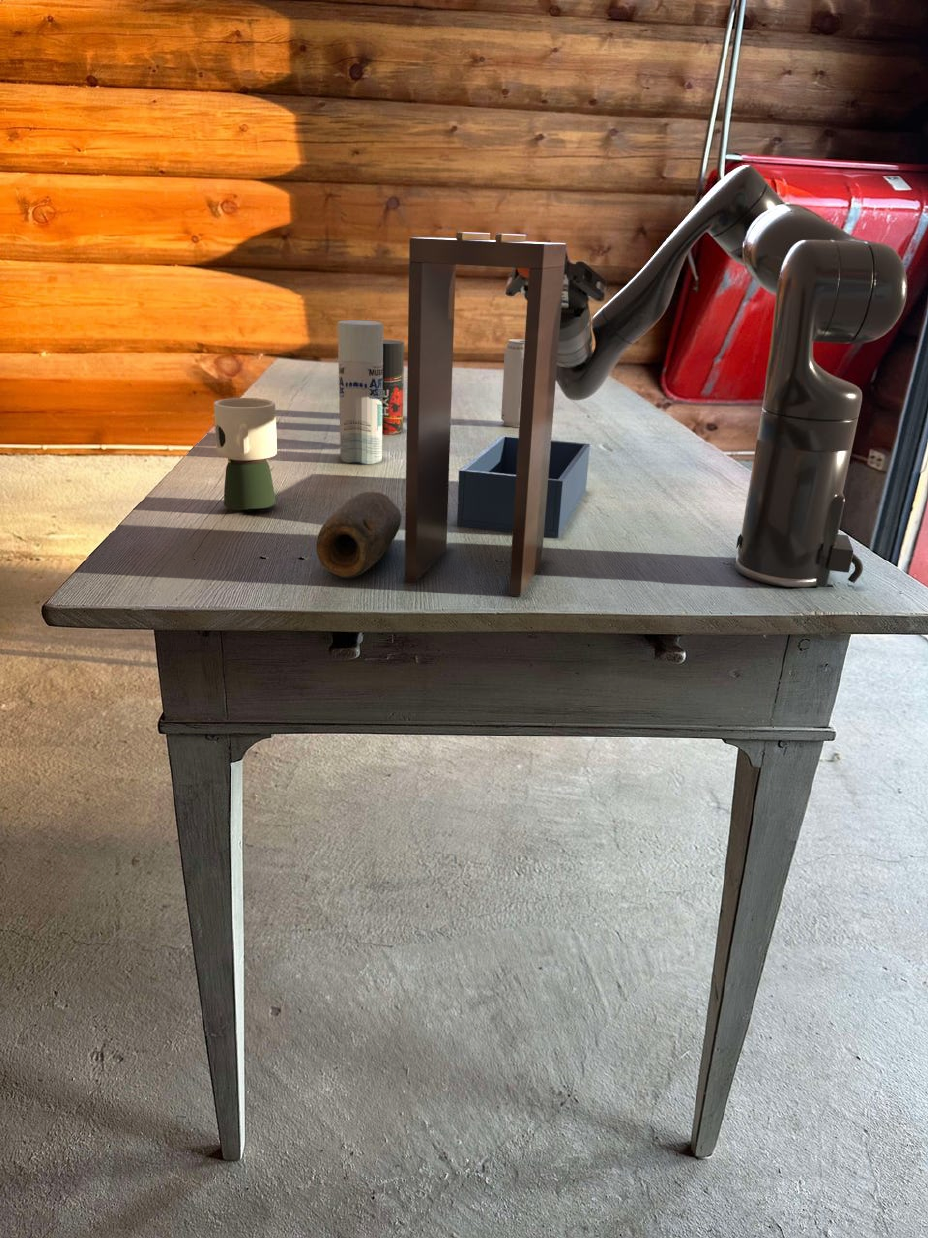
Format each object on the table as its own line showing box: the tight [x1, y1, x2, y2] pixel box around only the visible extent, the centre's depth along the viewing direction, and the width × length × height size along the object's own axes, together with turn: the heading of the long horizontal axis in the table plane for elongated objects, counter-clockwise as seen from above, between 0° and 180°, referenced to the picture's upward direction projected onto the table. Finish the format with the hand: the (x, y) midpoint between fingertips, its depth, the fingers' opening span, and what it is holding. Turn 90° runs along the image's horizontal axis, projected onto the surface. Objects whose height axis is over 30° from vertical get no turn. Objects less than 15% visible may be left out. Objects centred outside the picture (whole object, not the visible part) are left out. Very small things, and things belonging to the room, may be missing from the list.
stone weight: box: [315, 491, 402, 579], centre depth 96 cm, size 15×7×7 cm, turn 176°
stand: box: [403, 231, 567, 598], centre depth 89 cm, size 12×11×33 cm
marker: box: [517, 268, 530, 277], centre depth 107 cm, size 17×2×2 cm, turn 164°
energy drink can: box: [500, 338, 525, 428], centre depth 166 cm, size 6×6×15 cm
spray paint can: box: [337, 319, 384, 465], centre depth 135 cm, size 6×6×20 cm
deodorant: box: [382, 339, 405, 435], centre depth 157 cm, size 6×6×15 cm
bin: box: [456, 435, 591, 539], centre depth 117 cm, size 12×22×7 cm, turn 164°
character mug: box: [213, 397, 278, 513], centre depth 110 cm, size 11×7×13 cm, turn 9°
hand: (546, 250), depth 108 cm, fingers closed on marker, 2 cm apart
